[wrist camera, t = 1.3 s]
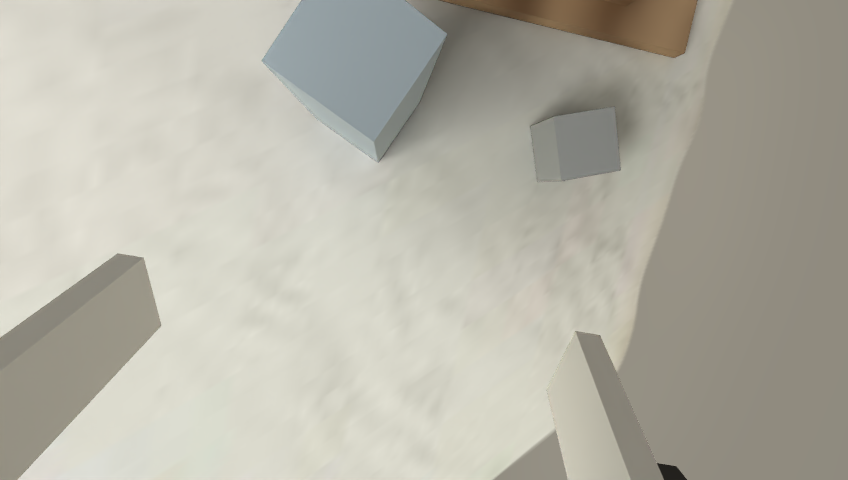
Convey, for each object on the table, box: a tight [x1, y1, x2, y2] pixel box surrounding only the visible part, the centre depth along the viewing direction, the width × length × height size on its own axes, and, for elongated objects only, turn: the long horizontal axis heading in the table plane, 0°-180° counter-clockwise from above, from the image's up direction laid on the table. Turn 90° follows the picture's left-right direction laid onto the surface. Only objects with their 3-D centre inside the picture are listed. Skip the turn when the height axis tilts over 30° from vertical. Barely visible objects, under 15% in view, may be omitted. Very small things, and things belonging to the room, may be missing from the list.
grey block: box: [530, 106, 621, 182], centre depth 26 cm, size 4×4×4 cm
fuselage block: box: [262, 0, 447, 162], centre depth 21 cm, size 5×5×12 cm
